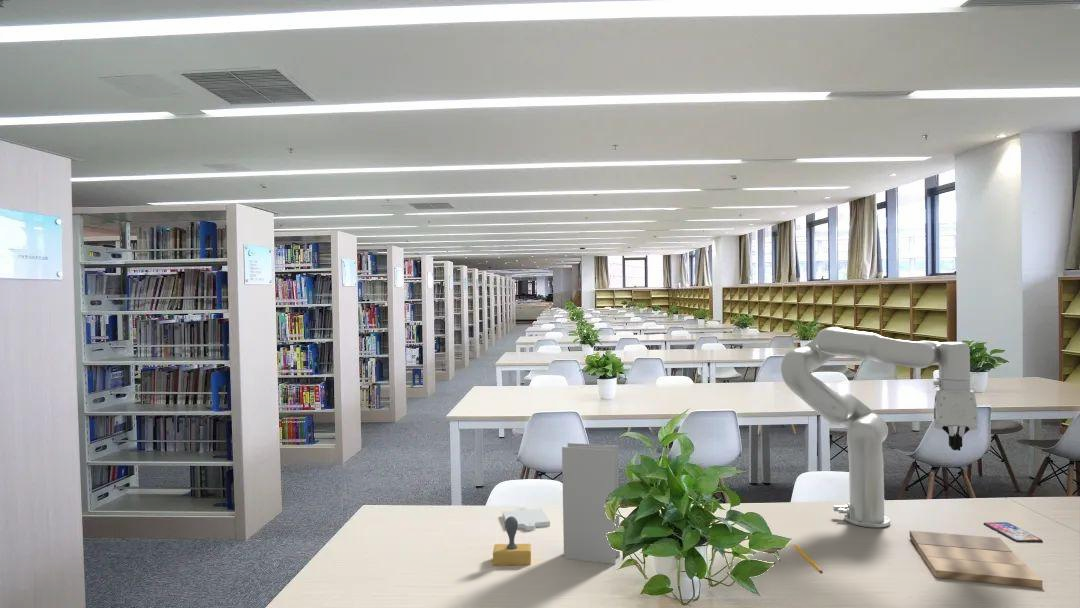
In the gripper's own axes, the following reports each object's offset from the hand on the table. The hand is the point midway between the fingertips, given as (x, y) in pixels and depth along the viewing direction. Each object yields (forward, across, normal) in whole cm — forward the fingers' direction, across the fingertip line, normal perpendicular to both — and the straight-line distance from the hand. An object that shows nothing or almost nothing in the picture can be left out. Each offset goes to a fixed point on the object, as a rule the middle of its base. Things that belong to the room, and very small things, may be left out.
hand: (955, 449), depth 185 cm
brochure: (+25, -97, -42) cm, 109 cm away
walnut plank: (+25, -2, -9) cm, 27 cm away
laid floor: (+25, -2, -23) cm, 34 cm away
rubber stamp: (+25, -117, -50) cm, 130 cm away
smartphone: (+26, +16, +8) cm, 31 cm away
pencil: (+26, -42, -27) cm, 56 cm away
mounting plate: (+26, -124, -19) cm, 128 cm away
